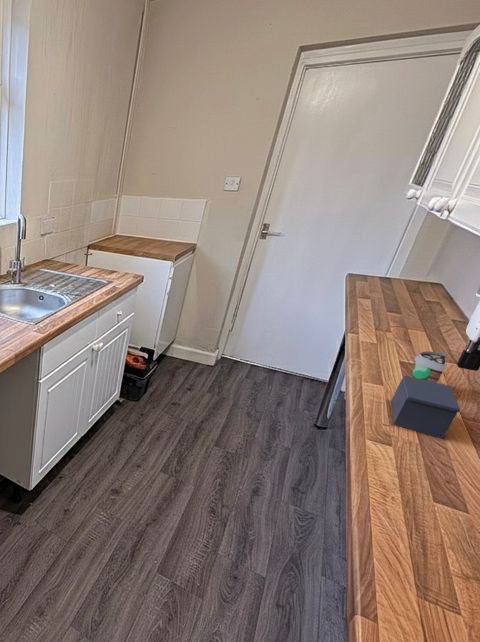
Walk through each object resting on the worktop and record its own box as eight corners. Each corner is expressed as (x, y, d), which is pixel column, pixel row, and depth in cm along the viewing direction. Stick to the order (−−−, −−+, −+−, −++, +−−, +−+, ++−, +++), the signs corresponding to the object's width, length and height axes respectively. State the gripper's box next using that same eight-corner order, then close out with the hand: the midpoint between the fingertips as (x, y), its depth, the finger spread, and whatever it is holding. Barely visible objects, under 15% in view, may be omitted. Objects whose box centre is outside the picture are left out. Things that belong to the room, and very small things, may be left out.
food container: (405, 375, 134) (418, 347, 130) (432, 382, 130) (447, 353, 126) (402, 388, 126) (416, 358, 122) (430, 395, 122) (446, 365, 118)
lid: (458, 412, 99) (460, 409, 99) (406, 399, 105) (408, 396, 104) (448, 388, 110) (450, 385, 110) (402, 377, 116) (403, 375, 116)
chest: (442, 438, 103) (457, 412, 100) (393, 424, 108) (405, 399, 105) (435, 412, 114) (448, 388, 110) (390, 401, 119) (402, 378, 116)
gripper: (542, 302, 82) (498, 384, 89) (522, 288, 92) (484, 362, 99) (485, 296, 87) (447, 374, 93) (472, 283, 97) (439, 354, 104)
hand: (466, 367), depth 96 cm, fingers closed
